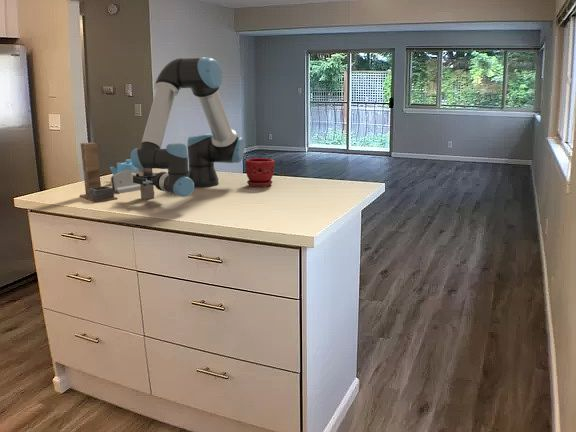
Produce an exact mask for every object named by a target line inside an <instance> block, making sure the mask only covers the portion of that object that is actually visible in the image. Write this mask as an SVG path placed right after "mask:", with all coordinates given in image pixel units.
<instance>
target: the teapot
mask: <svg viewBox="0 0 576 432" xmlns="http://www.w3.org/2000/svg"><path fill="white" fill-rule="evenodd" d="M116 167H117V168H116ZM116 167H114V166H110V167H109V169H110V171H111V173H112V176H113V175H115V174H117V173H119V172H122V171H126V170H138V171H139V168H136V167H134V166H133V165H132V163H131V158H130V159H125V162H116Z"/></svg>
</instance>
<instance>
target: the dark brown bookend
mask: <svg viewBox="0 0 576 432" xmlns="http://www.w3.org/2000/svg"><path fill="white" fill-rule="evenodd" d="M80 151H81V161H82V170H83V181H84V189H85V194H80V195H79V197H81V198H83V199H86V200H88V201H91V202H92V203H93V202H94V203H101V202H108V201H112V200H115V201H116V200H118V197H117V196H115V192H114V191H113V188H112V186H111V187H110V186H107V185H102V184H101V173H100V163H99V151H98V143H97V142H81V143H80Z"/></svg>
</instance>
